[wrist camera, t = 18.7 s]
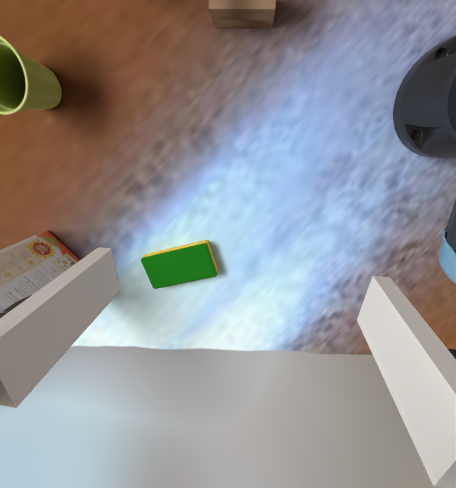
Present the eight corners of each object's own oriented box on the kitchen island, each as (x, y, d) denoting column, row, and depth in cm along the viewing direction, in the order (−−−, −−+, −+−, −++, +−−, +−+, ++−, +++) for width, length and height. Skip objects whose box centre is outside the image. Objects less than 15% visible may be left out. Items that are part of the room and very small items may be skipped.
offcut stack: (275, 0, 33) (278, -28, 28) (272, 28, 34) (275, 7, 29) (216, 0, 34) (208, -27, 28) (215, 28, 35) (207, 6, 30)
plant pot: (18, 42, 38) (-45, 15, 30) (76, 67, 39) (29, 48, 31) (15, 105, 42) (-41, 97, 34) (68, 128, 43) (25, 125, 35)
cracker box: (33, 245, 52) (-97, 305, 33) (48, 228, 50) (-81, 282, 31) (84, 291, 56) (-7, 370, 36) (100, 277, 54) (12, 352, 34)
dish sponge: (145, 253, 51) (139, 258, 48) (208, 238, 48) (205, 243, 46) (157, 283, 53) (153, 289, 51) (219, 270, 50) (217, 276, 48)
